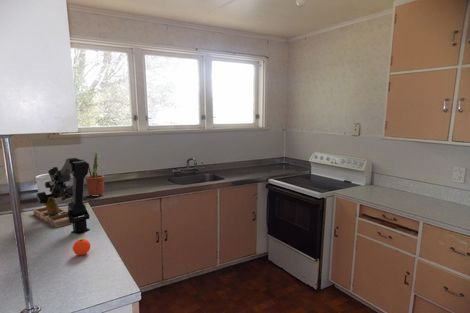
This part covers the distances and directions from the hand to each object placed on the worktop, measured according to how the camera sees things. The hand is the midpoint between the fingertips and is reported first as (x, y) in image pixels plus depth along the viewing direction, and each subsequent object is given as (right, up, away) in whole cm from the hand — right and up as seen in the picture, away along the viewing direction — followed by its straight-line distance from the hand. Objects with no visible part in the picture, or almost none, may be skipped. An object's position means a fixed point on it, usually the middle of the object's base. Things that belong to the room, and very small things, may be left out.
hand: (53, 202), depth 177 cm
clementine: (+42, -16, -47) cm, 65 cm away
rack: (0, -9, +1) cm, 9 cm away
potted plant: (+1, -3, +48) cm, 48 cm away
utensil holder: (-32, -4, +48) cm, 58 cm away
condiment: (+1, -7, +1) cm, 8 cm away
